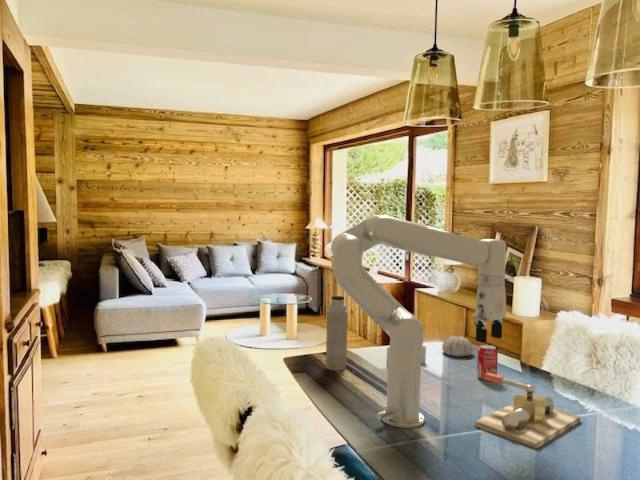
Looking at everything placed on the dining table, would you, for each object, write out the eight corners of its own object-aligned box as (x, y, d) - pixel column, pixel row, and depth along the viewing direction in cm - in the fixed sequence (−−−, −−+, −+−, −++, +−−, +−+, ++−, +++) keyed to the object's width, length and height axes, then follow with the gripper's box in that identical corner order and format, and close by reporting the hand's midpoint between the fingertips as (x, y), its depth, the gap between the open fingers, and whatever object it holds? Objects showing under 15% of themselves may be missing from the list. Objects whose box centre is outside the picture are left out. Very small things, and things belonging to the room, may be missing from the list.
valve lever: (536, 391, 148) (537, 385, 148) (532, 393, 146) (532, 387, 146) (488, 377, 160) (489, 372, 159) (484, 379, 158) (484, 373, 158)
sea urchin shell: (441, 356, 218) (441, 338, 217) (442, 348, 231) (442, 331, 230) (473, 359, 214) (474, 341, 214) (472, 351, 227) (473, 333, 227)
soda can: (482, 374, 195) (483, 343, 194) (500, 378, 190) (501, 346, 189) (473, 377, 190) (474, 346, 189) (491, 382, 185) (492, 350, 184)
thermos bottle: (321, 367, 198) (323, 296, 196) (333, 363, 204) (335, 294, 203) (338, 371, 193) (340, 298, 192) (350, 366, 200) (351, 296, 198)
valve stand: (536, 448, 133) (537, 413, 132) (474, 426, 146) (476, 394, 146) (580, 421, 151) (581, 390, 151) (522, 403, 165) (523, 375, 164)
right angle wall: (386, 366, 204) (387, 347, 204) (398, 359, 214) (398, 341, 214) (414, 371, 198) (415, 352, 197) (425, 364, 208) (426, 346, 208)
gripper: (487, 284, 141) (484, 347, 142) (517, 280, 153) (515, 337, 154) (463, 281, 147) (461, 341, 148) (494, 277, 158) (492, 333, 159)
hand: (488, 339), depth 151 cm, fingers open, 7 cm apart
